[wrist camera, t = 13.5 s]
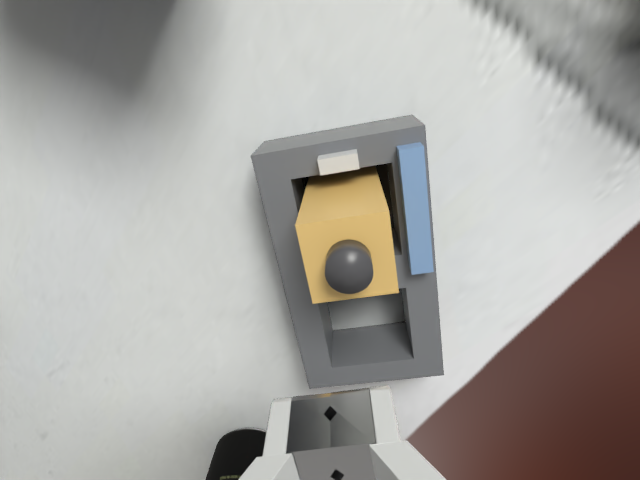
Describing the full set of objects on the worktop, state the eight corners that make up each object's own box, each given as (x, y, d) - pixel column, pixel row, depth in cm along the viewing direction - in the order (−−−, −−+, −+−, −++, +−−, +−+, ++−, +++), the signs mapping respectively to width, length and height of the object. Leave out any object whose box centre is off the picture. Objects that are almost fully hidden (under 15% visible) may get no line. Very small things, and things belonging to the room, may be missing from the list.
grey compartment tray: (313, 349, 31) (308, 399, 26) (264, 141, 25) (246, 159, 20) (431, 336, 30) (447, 386, 25) (412, 114, 24) (428, 128, 19)
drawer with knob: (321, 229, 27) (310, 319, 18) (310, 171, 25) (291, 236, 16) (381, 220, 26) (402, 307, 17) (373, 160, 25) (392, 221, 15)
